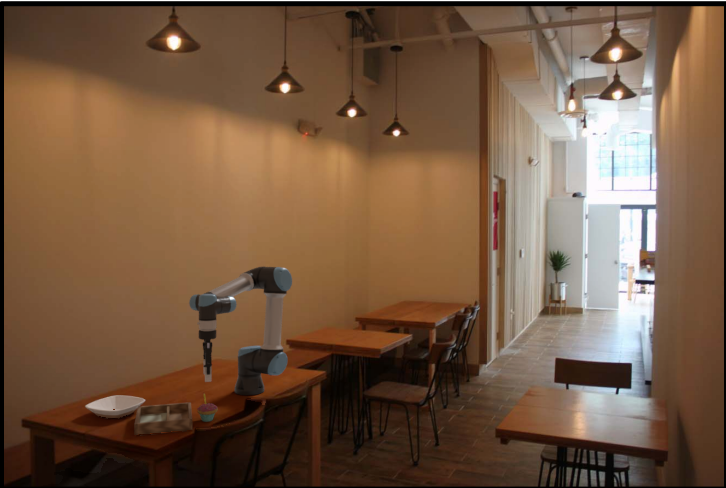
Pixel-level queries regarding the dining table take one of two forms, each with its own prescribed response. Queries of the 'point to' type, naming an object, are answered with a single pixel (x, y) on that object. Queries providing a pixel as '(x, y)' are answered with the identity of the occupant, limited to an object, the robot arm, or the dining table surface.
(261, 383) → the robot arm
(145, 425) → the crate
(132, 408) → the bowl
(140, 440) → the dining table surface
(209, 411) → the cupcake
